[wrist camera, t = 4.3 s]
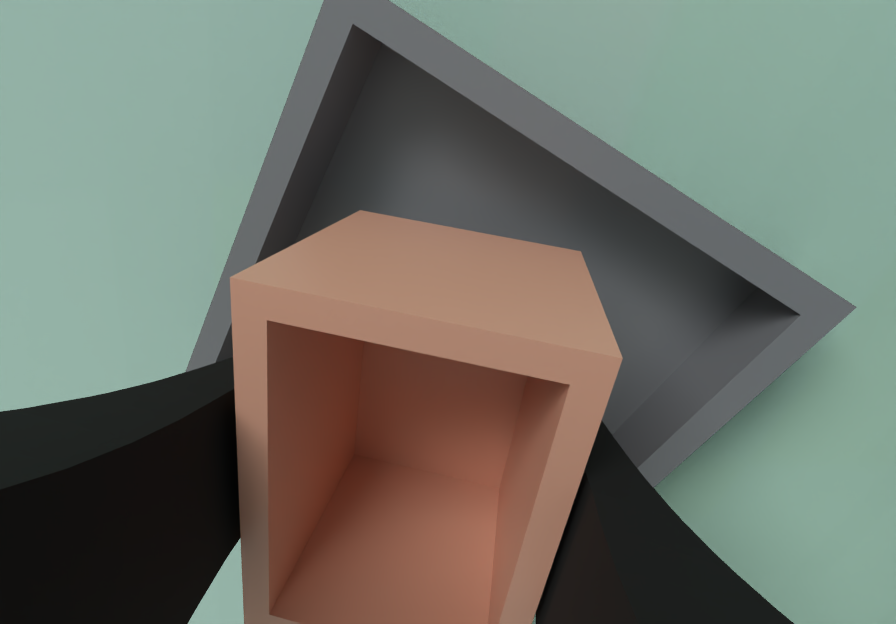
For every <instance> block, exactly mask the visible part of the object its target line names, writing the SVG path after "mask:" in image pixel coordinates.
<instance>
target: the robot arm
mask: <svg viewBox="0 0 896 624" xmlns="http://www.w3.org/2000/svg"><path fill="white" fill-rule="evenodd" d="M240 538H241V534H240V510H239V486H238V462H237V438H236V414H235V390H234V365H233V357H231V358H228V359H225V360H222V361H219V362H216V363H213V364H210V365H207V366H204V367H201V368H197V369H194V370H191V371H188V372H185V373H182V374H178V375H175V376H172V377H169V378H165V379H162V380H158V381H155V382H151V383H147V384H143V385H139V386H135V387H131V388H127V389H122V390H118V391H114V392H110V393H105V394H101V395H96V396H91V397H85V398H80V399H74V400H69V401H63V402H58V403H52V404H46V405H41V406H35V407H30V408H24V409H17V410H10V411H2V412H0V624H188V622H189V620H190V618H191V617H192V615H193V613H194V611H195V610H196V608H197V606H198V604H199V603H200V601H201V599H202V598H203V596H204V595H205V593H206V591H207V590H208V588H209V586H210V585H211V583H212V581H213V580H214V578H215V576H216V575H217V573H218V571H219V570H220V568H221V566H222V565H223V563H224V561H225V560H226V558H227V557H228V555H229V554H230V552H231V551H232V549H233V548H234V546H235V545H236V543H237V542H238V540H239V539H240ZM536 624H794V623H793V622H791V621H790V620H789V619H788V618H787V617H785V616H784V615H783V614H782V613H781V612H779V611H778V610H777V609H776V608H775V607H773V606H772V605H771V604H770V603H769V602H768V601H767V600H766V599H764V598H763V597H762V596H761V595H760V594H759V593H758V592H757V591H755V590H754V589H753V588H752V587H751V586H750V585H749V584H747V583H746V582H745V581H744V580H743V579H742V578H741V577H740V576H738V575H737V574H736V573H735V572H734V571H733V570H732V569H731V568H730V567H729V566H728V565H727V564H725V563H724V562H723V561H722V560H721V559H720V558H719V557H718V556H717V555H716V554H715V553H714V552H713V551H712V550H711V549H710V548H709V547H708V546H707V545H706V544H705V543H704V542H703V541H702V540H701V539H700V538H699V537H698V536H697V535H696V534H695V533H694V532H693V531H692V530H691V529H690V528H689V527H688V526H687V525H686V524H685V523H684V522H683V521H682V520H681V519H680V518H679V516H678V515H677V514H676V513H675V512H674V511H673V510H672V509H671V508H670V507H669V506H668V504H667V503H666V502H665V501H664V500H663V499H662V497H661V496H660V495H659V494H658V493H657V492H656V490H655V489H654V488H653V487H652V486H651V484H650V483H649V482H648V481H647V480H646V479H645V477H644V476H643V475H642V474H641V472H640V471H639V470H638V469H637V467H636V466H635V465H634V464H633V462H632V461H631V460H630V458H629V457H628V456H627V454H626V453H625V452H624V450H623V449H622V448H621V446H620V445H619V444H618V442H617V441H616V439H615V438H614V437H613V435H612V434H611V433H610V431H609V430H608V428H607V427H606V425H605V424H604V423H603V421H602V420H601V423H600V426H599V429H598V432H597V435H596V438H595V441H594V444H593V447H592V450H591V452H590V455H589V458H588V461H587V464H586V467H585V470H584V473H583V476H582V479H581V482H580V485H579V487H578V490H577V493H576V496H575V499H574V502H573V505H572V508H571V511H570V514H569V517H568V520H567V522H566V525H565V528H564V531H563V534H562V537H561V540H560V543H559V546H558V549H557V552H556V555H555V557H554V560H553V563H552V566H551V569H550V572H549V575H548V578H547V581H546V584H545V587H544V590H543V592H542V595H541V598H540V601H539V604H538V607H537V610H536Z"/></svg>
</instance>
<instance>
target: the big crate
mask: <svg viewBox="0 0 896 624" xmlns="http://www.w3.org/2000/svg"><path fill="white" fill-rule="evenodd" d="M359 210H362V211H368V212H373V213H378V214H384V215H389V216H394V217H400V218H405V219H410V220H416V221H421V222H427V223H432V224H437V225H443V226H448V227H453V228H459V229H464V230H469V231H475V232H480V233H485V234H491V235H496V236H501V237H507V238H512V239H518V240H523V241H528V242H534V243H539V244H544V245H550V246H555V247H560V248H566V249H571V250H576V251H581V253H582V256H583V258H584V261H585V263H586V266H587V268H588V271H589V273H590V276H591V279H592V281H593V284H594V286H595V289H596V291H597V294H598V296H599V299H600V301H601V304H602V307H603V309H604V312H605V314H606V317H607V319H608V322H609V324H610V327H611V330H612V332H613V335H614V337H615V340H616V342H617V345H618V347H619V350H620V352H621V355H622V358H623V359H622V362H621V365H620V368H619V371H618V374H617V377H616V380H615V383H614V385H613V388H612V391H611V394H610V397H609V400H608V403H607V406H606V409H605V412H604V415H603V418H602V421H603V423H604V424H605V425H606V427H607V428H608V430H609V431H610V433H611V434H612V435H613V437H614V438H615V439H616V441H617V442H618V444H619V445H620V446H621V448H622V449H623V450H624V452H625V453H626V454H627V456H628V457H629V458H630V460H631V461H632V462H633V464H634V465H635V466H636V467H637V469H638V470H639V471H640V472H641V474H642V475H643V476H644V477H645V479H646V480H647V481H648V482H649V483H650V484H651V486H652V487H653V488H654V487H655V486H656V485H657V484H658V483H660V482H661V481H662V480H663V479H664V478H665V477H666V476H667V475H669V474H670V473H671V472H672V471H673V470H674V469H675V468H676V467H678V466H679V465H680V464H681V463H682V462H683V461H684V460H685V459H687V458H688V457H689V456H690V455H691V454H692V453H693V452H694V451H696V450H697V449H698V448H699V447H700V446H701V445H702V444H703V443H705V442H706V441H707V440H708V439H709V438H710V437H711V436H712V435H714V434H715V433H716V432H717V431H718V430H719V429H720V428H721V427H723V426H724V425H725V424H726V423H727V422H728V421H729V420H730V419H732V418H733V417H734V416H735V415H736V414H737V413H738V412H739V411H741V410H742V409H743V408H744V407H745V406H746V405H747V404H748V403H750V402H751V401H752V400H753V399H754V398H755V397H756V396H757V395H758V394H760V393H761V392H762V391H763V390H764V389H765V388H766V387H767V386H769V385H770V384H771V383H772V382H773V381H774V380H775V379H776V378H778V377H779V376H780V375H781V374H782V373H783V372H784V371H785V370H787V369H788V368H789V367H790V366H791V365H792V364H793V363H794V362H796V361H797V360H798V359H799V358H800V357H801V356H802V355H803V354H805V353H806V352H807V351H808V350H809V349H810V348H811V347H812V346H814V345H815V344H816V343H817V342H818V341H819V340H820V339H821V338H823V337H824V336H825V335H826V334H827V333H828V332H829V331H830V330H832V329H833V328H834V327H835V326H836V325H837V324H838V323H839V322H841V321H842V320H843V319H844V318H845V317H846V316H847V315H848V314H850V313H851V312H852V311H853V310H854V309H855V308H856V306H854V305H852V304H851V303H849V302H848V301H846V300H845V299H843V298H842V297H840V296H839V295H837V294H836V293H834V292H833V291H831V290H830V289H828V288H827V287H825V286H823V285H822V284H820V283H819V282H817V281H816V280H814V279H813V278H811V277H810V276H808V275H807V274H805V273H804V272H802V271H801V270H799V269H798V268H796V267H795V266H793V265H791V264H790V263H788V262H787V261H785V260H784V259H782V258H781V257H779V256H778V255H776V254H775V253H773V252H772V251H770V250H769V249H767V248H766V247H764V246H762V245H761V244H759V243H758V242H756V241H755V240H753V239H752V238H750V237H749V236H747V235H746V234H744V233H743V232H741V231H740V230H738V229H737V228H735V227H734V226H732V225H730V224H729V223H727V222H726V221H724V220H723V219H721V218H720V217H718V216H717V215H715V214H714V213H712V212H711V211H709V210H708V209H706V208H705V207H703V206H701V205H700V204H698V203H697V202H695V201H694V200H692V199H691V198H689V197H688V196H686V195H685V194H683V193H682V192H680V191H679V190H677V189H676V188H674V187H673V186H671V185H669V184H668V183H666V182H665V181H663V180H662V179H660V178H659V177H657V176H656V175H654V174H653V173H651V172H650V171H648V170H647V169H645V168H644V167H642V166H640V165H639V164H637V163H636V162H634V161H633V160H631V159H630V158H628V157H627V156H625V155H624V154H622V153H621V152H619V151H618V150H616V149H615V148H613V147H612V146H610V145H608V144H607V143H605V142H604V141H602V140H601V139H599V138H598V137H596V136H595V135H593V134H592V133H590V132H589V131H587V130H586V129H584V128H583V127H581V126H579V125H578V124H576V123H575V122H573V121H572V120H570V119H569V118H567V117H566V116H564V115H563V114H561V113H560V112H558V111H557V110H555V109H554V108H552V107H551V106H549V105H547V104H546V103H544V102H543V101H541V100H540V99H538V98H537V97H535V96H534V95H532V94H531V93H529V92H528V91H526V90H525V89H523V88H522V87H520V86H518V85H517V84H515V83H514V82H512V81H511V80H509V79H508V78H506V77H505V76H503V75H502V74H500V73H499V72H497V71H496V70H494V69H493V68H491V67H490V66H488V65H486V64H485V63H483V62H482V61H480V60H479V59H477V58H476V57H474V56H473V55H471V54H470V53H468V52H467V51H465V50H464V49H462V48H461V47H459V46H457V45H456V44H454V43H453V42H451V41H450V40H448V39H447V38H445V37H444V36H442V35H441V34H439V33H438V32H436V31H435V30H433V29H432V28H430V27H429V26H427V25H425V24H424V23H422V22H421V21H419V20H418V19H416V18H415V17H413V16H412V15H410V14H409V13H407V12H406V11H404V10H403V9H401V8H400V7H398V6H397V5H395V4H393V3H392V2H390V1H389V0H324V2H323V4H322V7H321V10H320V12H319V15H318V18H317V20H316V23H315V26H314V28H313V31H312V34H311V36H310V39H309V42H308V45H307V47H306V50H305V53H304V55H303V58H302V61H301V63H300V66H299V69H298V71H297V74H296V77H295V79H294V82H293V85H292V87H291V90H290V93H289V96H288V98H287V101H286V104H285V106H284V109H283V112H282V114H281V117H280V120H279V122H278V125H277V128H276V130H275V133H274V136H273V138H272V141H271V144H270V147H269V149H268V152H267V155H266V157H265V160H264V163H263V165H262V168H261V171H260V173H259V176H258V179H257V181H256V184H255V187H254V189H253V192H252V195H251V198H250V200H249V203H248V206H247V208H246V211H245V214H244V216H243V219H242V222H241V224H240V227H239V230H238V232H237V235H236V238H235V240H234V243H233V246H232V249H231V251H230V254H229V257H228V259H227V262H226V265H225V267H224V270H223V273H222V275H221V278H220V281H219V283H218V286H217V289H216V291H215V294H214V297H213V300H212V302H211V305H210V308H209V310H208V313H207V316H206V318H205V321H204V324H203V326H202V329H201V332H200V334H199V337H198V340H197V342H196V345H195V348H194V351H193V353H192V356H191V359H190V361H189V364H188V367H187V369H186V372H188V371H191V370H194V369H197V368H201V367H204V366H207V365H210V364H213V363H216V362H219V361H222V360H225V359H228V358H231V357H233V341H232V317H231V293H230V277H231V276H233V275H235V274H237V273H239V272H241V271H243V270H245V269H247V268H249V267H251V266H253V265H255V264H257V263H259V262H261V261H262V260H264V259H266V258H268V257H270V256H272V255H274V254H276V253H278V252H280V251H282V250H284V249H286V248H288V247H290V246H292V245H293V244H295V243H297V242H299V241H301V240H303V239H305V238H307V237H309V236H311V235H313V234H315V233H317V232H319V231H321V230H323V229H324V228H326V227H328V226H330V225H332V224H334V223H336V222H338V221H340V220H342V219H344V218H346V217H348V216H350V215H352V214H354V213H356V212H357V211H359Z"/></svg>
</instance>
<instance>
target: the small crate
mask: <svg viewBox="0 0 896 624" xmlns="http://www.w3.org/2000/svg"><path fill="white" fill-rule="evenodd" d="M230 293H231V317H232V341H233V365H234V390H235V414H236V438H237V462H238V486H239V510H240V534H241V558H242V582H243V606H244V624H532V622H533V619H534V616H535V613H536V610H537V607H538V604H539V601H540V598H541V595H542V592H543V590H544V587H545V584H546V581H547V578H548V575H549V572H550V569H551V566H552V563H553V560H554V557H555V555H556V552H557V549H558V546H559V543H560V540H561V537H562V534H563V531H564V528H565V525H566V522H567V520H568V517H569V514H570V511H571V508H572V505H573V502H574V499H575V496H576V493H577V490H578V487H579V485H580V482H581V479H582V476H583V473H584V470H585V467H586V464H587V461H588V458H589V455H590V452H591V450H592V447H593V444H594V441H595V438H596V435H597V432H598V429H599V426H600V423H601V420H602V418H603V415H604V412H605V409H606V406H607V403H608V400H609V397H610V394H611V391H612V388H613V385H614V383H615V380H616V377H617V374H618V371H619V368H620V365H621V362H622V359H623V358H622V355H621V352H620V350H619V347H618V345H617V342H616V340H615V337H614V335H613V332H612V330H611V327H610V324H609V322H608V319H607V317H606V314H605V312H604V309H603V307H602V304H601V301H600V299H599V296H598V294H597V291H596V289H595V286H594V284H593V281H592V279H591V276H590V273H589V271H588V268H587V266H586V263H585V261H584V258H583V256H582V253H581V251H576V250H571V249H566V248H560V247H555V246H550V245H544V244H539V243H534V242H528V241H523V240H518V239H512V238H507V237H501V236H496V235H491V234H485V233H480V232H475V231H469V230H464V229H459V228H453V227H448V226H443V225H437V224H432V223H427V222H421V221H416V220H410V219H405V218H400V217H394V216H389V215H384V214H378V213H373V212H368V211H362V210H359V211H357V212H356V213H354V214H352V215H350V216H348V217H346V218H344V219H342V220H340V221H338V222H336V223H334V224H332V225H330V226H328V227H326V228H324V229H323V230H321V231H319V232H317V233H315V234H313V235H311V236H309V237H307V238H305V239H303V240H301V241H299V242H297V243H295V244H293V245H292V246H290V247H288V248H286V249H284V250H282V251H280V252H278V253H276V254H274V255H272V256H270V257H268V258H266V259H264V260H262V261H261V262H259V263H257V264H255V265H253V266H251V267H249V268H247V269H245V270H243V271H241V272H239V273H237V274H235V275H233V276H231V277H230Z"/></svg>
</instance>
